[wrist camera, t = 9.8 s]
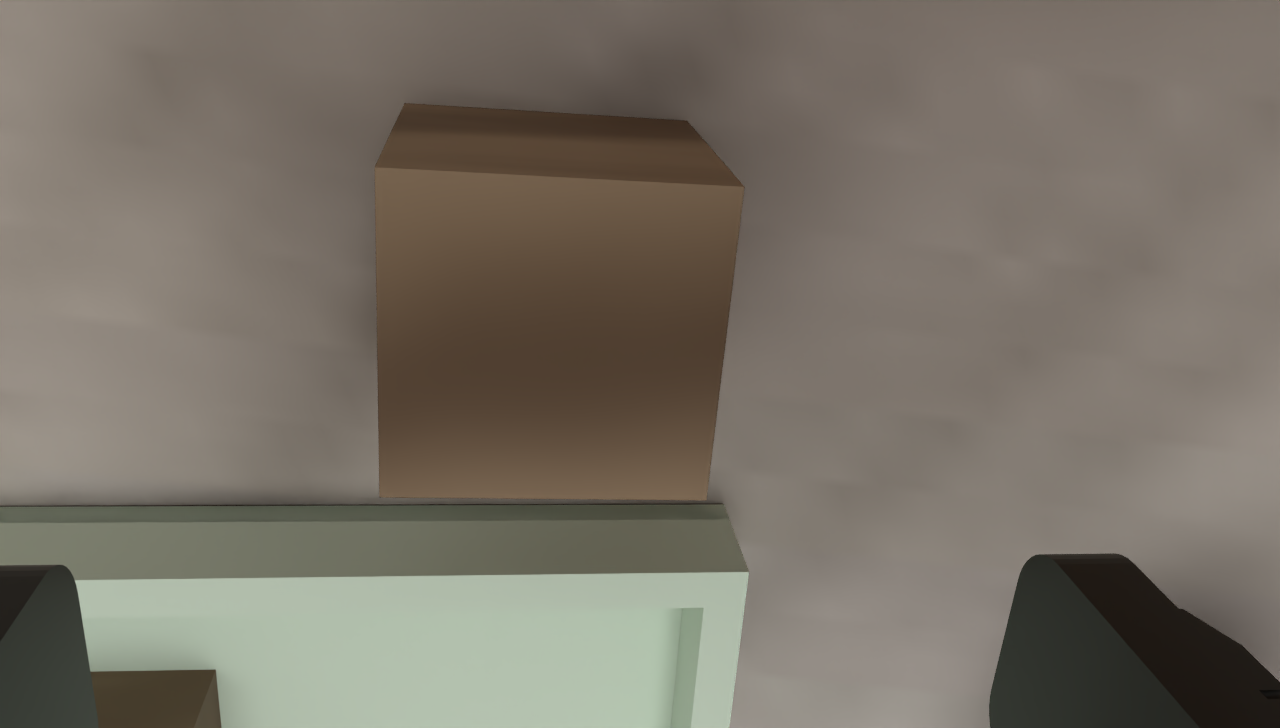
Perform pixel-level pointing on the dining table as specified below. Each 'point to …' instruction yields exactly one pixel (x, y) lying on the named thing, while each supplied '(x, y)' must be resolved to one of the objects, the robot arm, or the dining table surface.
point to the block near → (550, 304)
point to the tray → (412, 609)
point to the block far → (157, 699)
